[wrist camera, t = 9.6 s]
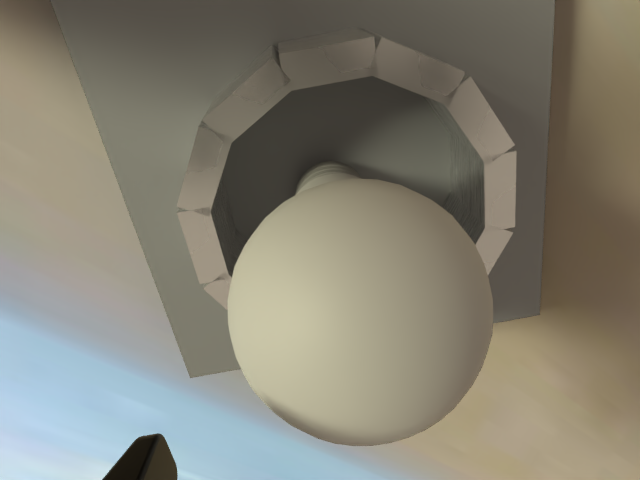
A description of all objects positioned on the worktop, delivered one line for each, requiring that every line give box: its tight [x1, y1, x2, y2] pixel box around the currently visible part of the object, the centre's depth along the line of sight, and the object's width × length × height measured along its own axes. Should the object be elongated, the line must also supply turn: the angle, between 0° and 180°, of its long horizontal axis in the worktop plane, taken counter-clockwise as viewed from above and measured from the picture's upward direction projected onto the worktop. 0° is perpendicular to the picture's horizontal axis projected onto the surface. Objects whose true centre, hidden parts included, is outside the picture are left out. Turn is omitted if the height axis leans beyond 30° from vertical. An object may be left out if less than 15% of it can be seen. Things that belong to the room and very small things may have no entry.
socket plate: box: [50, 0, 555, 378], centre depth 20 cm, size 16×16×2 cm
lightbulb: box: [228, 161, 493, 446], centre depth 14 cm, size 6×6×11 cm
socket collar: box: [177, 27, 517, 310], centre depth 17 cm, size 10×10×4 cm
